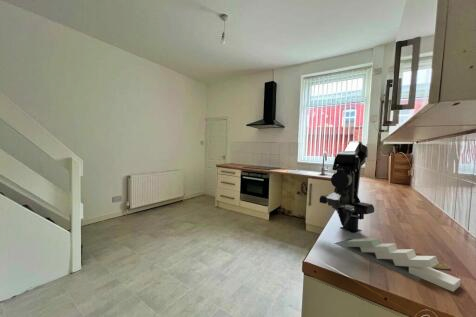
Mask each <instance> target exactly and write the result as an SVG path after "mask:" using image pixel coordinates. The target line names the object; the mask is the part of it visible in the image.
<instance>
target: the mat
mask: <svg viewBox="0 0 476 317" xmlns="http://www.w3.org/2000/svg"><path fill="white" fill-rule="evenodd" d="M353 239H354V238H353ZM353 239H352V238H347V239H343V240H340V241H337V242H334V244H335V245H337V246H339V247H341V248H343V249H345V250H348V251H351V252H353V253H355V254H357V255H360V256H361V257H363V258H366V259H368V260H370V261H373V262H374V263H376V264H378V265H381V266H384V267H386V268H388V269H390V270H393V271H395V272H397V273H399V274H400V275H401V274H402V275H404V276H406V277H408V278H411V279H412V280H415V281H417V282H419V281H422V278H420V277H418V276H415V275H413V274H411V273H409V266H395V264H394V262H393V259H377V257H376V255H375V252H362V251H361V248H360V247H348V245H347V241H350V240H353Z"/></svg>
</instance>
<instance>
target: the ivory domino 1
mask: <svg viewBox="0 0 476 317" xmlns="http://www.w3.org/2000/svg"><path fill="white" fill-rule="evenodd" d="M360 248H361V251H362V252H378V253H390V252H393V251H395V250H398V247H397V244H396V243H381V244H379V245H377V246H374V247H360Z"/></svg>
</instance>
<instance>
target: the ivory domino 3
mask: <svg viewBox="0 0 476 317" xmlns="http://www.w3.org/2000/svg"><path fill="white" fill-rule="evenodd" d="M438 260H439V259H438V258H437V256H436V255H424V256H415V257H413V258H411V259H409V260H405V259H393V262H394V264H395V266H411V267H431V268H432V267H434V266H435V265H437V264H438V263H439V262H438Z"/></svg>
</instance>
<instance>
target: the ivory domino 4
mask: <svg viewBox="0 0 476 317" xmlns="http://www.w3.org/2000/svg"><path fill="white" fill-rule="evenodd" d="M409 273H411V274H413V275H415V276H418V277H420V278H422V279H423V280H425V281H427V282H430V283H432V284H435V285H436V286H438V287H440V288H443V289H446V290H448V291H451V292H452V293H453V292H455V291H456V290H457V289H458V288H460V287H461V278H459V277H456V276H453V275H450V274H448V273H446V272H443V271H440V270H437V269H436V268H430V267H411V266H409ZM422 279H421V280H422Z"/></svg>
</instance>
